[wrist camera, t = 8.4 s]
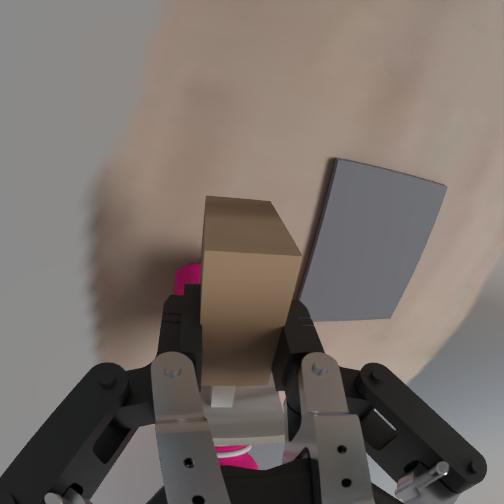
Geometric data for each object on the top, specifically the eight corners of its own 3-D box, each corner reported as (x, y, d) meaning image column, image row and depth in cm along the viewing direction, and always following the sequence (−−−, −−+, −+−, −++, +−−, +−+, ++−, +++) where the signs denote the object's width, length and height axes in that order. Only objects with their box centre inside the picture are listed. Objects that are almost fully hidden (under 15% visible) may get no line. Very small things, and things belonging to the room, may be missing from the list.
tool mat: (335, 157, 21) (338, 159, 20) (443, 184, 23) (447, 187, 23) (291, 317, 29) (292, 321, 29) (388, 314, 31) (390, 318, 31)
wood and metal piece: (157, 192, 12) (129, 245, 8) (314, 206, 13) (364, 260, 9) (164, 376, 17) (160, 443, 13) (269, 378, 19) (284, 441, 14)
